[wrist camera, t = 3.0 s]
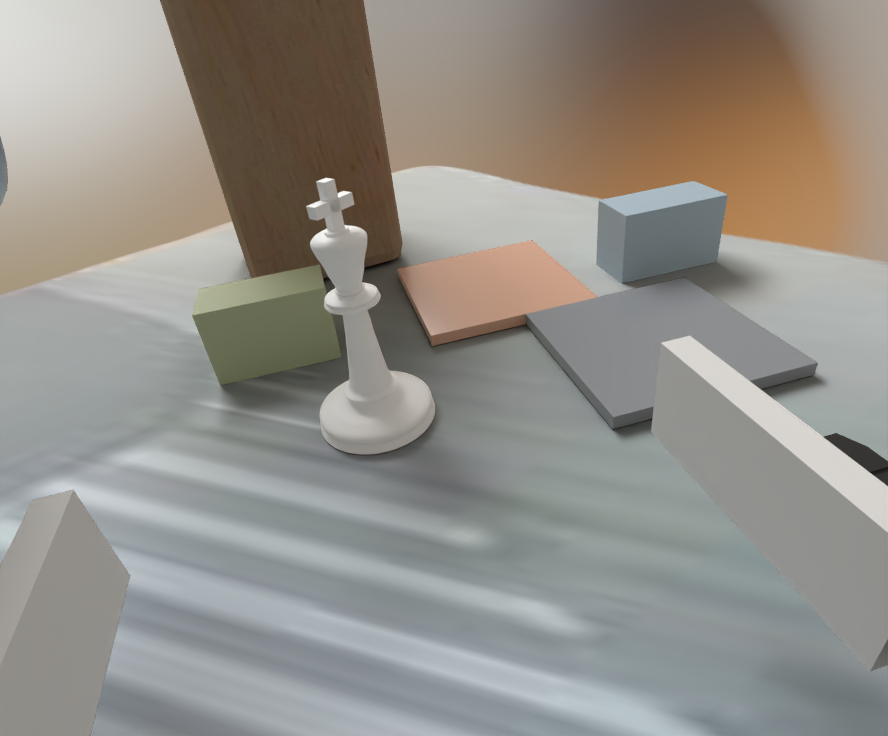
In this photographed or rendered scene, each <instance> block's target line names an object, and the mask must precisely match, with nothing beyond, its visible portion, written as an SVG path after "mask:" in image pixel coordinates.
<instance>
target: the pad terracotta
mask: <svg viewBox="0 0 888 736" xmlns="http://www.w3.org/2000/svg"><path fill="white" fill-rule="evenodd" d="M397 270H398V275H399V279H400V281H401V283H402V285H403V287H404V289H405V291H406V293H407V295H408V297H409V299H410V301H411V303H412V305H413V307H414V309H415V312H416V314H417V316H418V318H419V320H420V322H421V324H422V326H423V328H424V330H425V332H426V334H427V336H428V338H429V340H430V342H431V344H432V346H435V345H439V344H443V343H448V342H452V341H456V340H460V339H465V338H469V337H473V336H478V335H482V334H486V333H490V332H495V331H499V330H503V329H507V328H512V327H516V326H520V325H525V324H526V314H527V313H532V312H536V311H540V310H545V309H549V308H553V307H558V306H562V305H566V304H571V303H575V302H579V301H584V300H588V299H592V298H597V296H596V295H595V294H594V293H593V292H591V291H590V290H589V289H588V288H587V287H586V286H584V285H583V284H582V283H581V282H580V281H579V280H578V279H576V278H575V277H574V276H573V275H572V274H571V273H569V272H568V271H567V270H566V269H565V268H564V267H563V266H561V265H560V264H559V263H558V262H557V261H556V260H554V259H553V258H552V257H551V256H550V255H549V254H548V253H546V252H545V251H544V250H543V249H542V248H541V247H539V246H538V245H537V244H536V243H535V242H534V241H533V240H531V241H526V242H522V243H517V244H512V245H507V246H503V247H498V248H493V249H488V250H484V251H479V252H474V253H469V254H465V255H460V256H455V257H450V258H446V259H441V260H436V261H431V262H427V263H422V264H417V265H412V266H408V267H403V268H398V269H397Z"/></svg>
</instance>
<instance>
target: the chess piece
mask: <svg viewBox="0 0 888 736" xmlns="http://www.w3.org/2000/svg"><path fill="white" fill-rule="evenodd" d="M316 184H317V188H318V192H319V196H320V201H318V202H315V203H313V204H310V205H308V206H306V208H307V212H308V216H309V219H312V220H317V221H318V220H320V219H323V218H325V222H326V226H327V228H326V229H325V230H323V231H321V232H319V233H318V234H316V235H315V236H314V237H313V238H312V240H311V242H310V247H311V249H312V251H313V253H314V255H315V256H316V258H317V259H318V260H319V262H320V263H321V265H322V266H323V268H324V269H325V271H326V273H327V275H328V277H329V278H330V280H331V281H332V283H333V284H334V285H335V289H333V290H331V291H330V292H329V293H328V294H327V295H326V296H325V298H324V301H325V302H324V308H325V309H326V310H327V311H328V312H330V313H332V314H337V315H343V321H344V329H345V336H346V346H347V356H348V366H349V380H347V381H345V382H344V383H342V384H340V385H339V386H338V387H336V388H335V389H334V390H333V391H332V392H330V393H329V395H328V396H327V397H326V398H325V400H324V401H323V403H322V405H321V408H320V413H319V417H320V422H321V432H322V435H323V437H324V438H325V440H326V441H327V442H328V443H329V444H330V445H331V446H333V447H335V448H336V449H338V450H341V451H344V452H347V453H352V454H362V455H367V454H378V453H384V452H388V451H392V450H395V449H398V448H400V447H402V446H405V445H407V444H409V443H410V442H412V441H414V440H415V439H417V438H418V437H419V436H420V435H422V434H423V433H424V432H425V431H426V430H427V428H428V427H429V426H430V424H431V423H432V421H433V419H434V416H435V403H434V400H433V398H432V394H431V391H430V389H429V387H428V386H427V385H426V384H425V383H424V382H423V381H422V380H421V379H419V378H418V377H416V376H414V375H411V374H408V373H405V372H399V371H390V370H388V367H387V365H386V362H385V360H384V357H383V354H382V352H381V349H380V346H379V343H378V340H377V338H376V335H375V332H374V329H373V326H372V322H371V319H370V316H369V313H368V309H370V308H372V307H373V306H375V305H376V304H377V303H378V302H379V300H380V298H381V295H380V293H379V291H378V289H377V287H376V286H374V285H372V284H369V283H363V282H362V278H363V273H364V260H365V253H366V249H367V233H366V232H365V231H364V230H363V229H361V228H359V227H356V226H347V225H344V221H343V216H342V212H341V210H343V209H345V208H348V207H350V206H352V205H354V200H353V195H352V192H348V191H342V192H339V193H337V188H336V184H335V179H331V178H324V179H322V180H319V181H316Z"/></svg>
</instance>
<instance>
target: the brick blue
mask: <svg viewBox="0 0 888 736" xmlns="http://www.w3.org/2000/svg"><path fill="white" fill-rule="evenodd" d="M726 201H727V194H725V193H722V192H720V191H717V190H715V189H712V188H710V187H707V186H705V185H702V184H700V183H697V182H695V181H692V182H687V183H682V184H677V185H672V186H668V187H662V188H657V189H652V190H648V191H643V192H638V193H633V194H629V195H623V196H618V197H613V198H608V199H603V200H599V210H598V236H597V263H596V264H597V265H598V266H600V267H601V268H602V269H604V270H605V271H606V272H607V273H609V274H610V275H611V276H613V277H614V278H615V279H617V280H618V281H619V282H620V283H626V282H630V281H635V280H639V279H643V278H648V277H652V276H656V275H661V274H665V273H670V272H674V271H678V270H683V269H687V268H691V267H696V266H700V265H704V264H709V263H713V262H717V256H718V250H719V244H720V238H721V232H722V226H723V220H724V214H725V208H726Z"/></svg>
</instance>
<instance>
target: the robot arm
mask: <svg viewBox="0 0 888 736" xmlns="http://www.w3.org/2000/svg"><path fill="white" fill-rule="evenodd" d="M7 175H8V174H7V162H6V158H5V152H4V148H3V145H2V142H1V138H0V205H1V204H2V202H3V199H4V196H5V193H6V191H7V184H8V176H7ZM651 433H652V434H653V435H654V436H655V437H656V438H657V439H658V440H659V441H660V443H661V444H662V445H663V446H664V447H665V448H666V449H667V450H668V451H669V452H670V453H671V455H672V456H673V457H674V458H675V459H676V460H677V461H678V462H679V463H680V464H681V465H682V467H683V468H684V469H685V470H686V471H687V472H688V473H689V474H690V475H691V476H692V477H693V479H694V480H695V481H696V482H697V483H698V484H699V485H700V486H701V487H702V488H703V490H704V491H705V492H706V493H707V494H708V495H709V496H710V497H711V498H712V499H713V500H714V502H715V503H716V504H717V505H718V506H719V507H720V508H721V509H722V510H723V511H724V512H725V514H726V515H727V516H728V517H729V518H730V519H731V520H732V521H733V522H734V523H735V525H736V526H737V527H738V528H739V529H740V530H741V531H742V532H743V533H744V534H745V535H746V537H747V538H748V539H749V540H750V541H751V542H752V543H753V544H754V545H755V546H756V547H757V549H758V550H759V551H760V552H761V553H762V554H763V555H764V556H765V557H766V558H767V559H768V561H769V562H770V563H771V564H772V565H773V566H774V567H775V568H776V569H777V570H778V572H779V573H780V574H781V575H782V576H783V577H784V578H785V579H786V580H787V581H788V582H789V584H790V585H791V586H792V587H793V588H794V589H795V590H796V591H797V592H798V593H799V594H800V596H801V597H802V598H803V599H804V600H805V601H806V602H807V603H808V604H809V605H810V606H811V608H812V609H813V610H814V611H815V612H816V613H817V614H818V615H819V616H820V617H821V619H822V620H823V621H824V622H825V623H826V624H827V625H828V626H829V627H830V628H831V629H832V631H833V632H834V633H835V634H836V635H837V636H838V637H839V638H840V639H841V640H842V641H843V643H844V644H845V645H846V646H847V647H848V648H849V649H850V650H851V651H852V652H853V653H854V655H855V656H856V657H857V658H858V659H859V660H860V661H861V662H862V663H863V664H864V666H865V667H866V668H867V669H868V670H869V671H873V670H875V669H878V668H881V667H883V666H886V665H888V461H887V460H885V459H884V458H882V457H881V456H880V455H878V454H877V453H875V452H874V451H873V450H871V449H870V448H869V447H867V446H865V445H862V444H860V443H858V442H855V441H853V440H851V439H849V438H846V437H844V436H842V435H839V434H837V433H835V434H832V435H828V436H825V437H822V436H821V435H820V434H818V433H817V432H816V431H815V430H813V429H812V428H811V427H809V426H808V425H807V424H805V423H804V422H803V421H801V420H800V419H799V418H797V417H796V416H795V415H794V414H792V413H791V412H790V411H788V410H787V409H786V408H784V407H783V406H782V405H780V404H779V403H778V402H776V401H775V400H774V399H773V398H771V397H770V396H769V395H767V394H766V393H765V392H763V391H762V390H761V389H759V388H758V387H757V386H755V385H754V384H753V383H752V382H750V381H749V380H748V379H746V378H745V377H744V376H742V375H741V374H740V373H738V372H737V371H736V370H734V369H733V368H732V367H731V366H729V365H728V364H727V363H725V362H724V361H723V360H721V359H720V358H719V357H717V356H716V355H715V354H713V353H712V352H711V351H710V350H708V349H707V348H706V347H704V346H703V345H702V344H700V343H699V342H698V341H696V340H695V339H694V338H692V337H691V336H686V337H682V338H678V339H674V340H670V341H666V342H662V343H661V346H660V355H659V364H658V373H657V382H656V391H655V401H654V410H653V419H652V428H651ZM129 579H130V574H129V573H128V571H127V570H126V568H125V567H124V565H123V564H122V562H121V561H120V559H119V558H118V556H117V555H116V553H115V552H114V550H113V549H112V547H111V546H110V544H109V543H108V541H107V540H106V538H105V537H104V535H103V534H102V532H101V531H100V529H99V528H98V526H97V525H96V523H95V522H94V520H93V519H92V517H91V516H90V514H89V513H88V511H87V510H86V508H85V507H84V505H83V504H82V502H81V501H80V499H79V498H78V496H77V495H76V493H75V492H74V490H70V491H66V492H62V493H58V494H54V495H50V496H46V497H42V498H38V499H34V500H32V502H31V504H30V507H29V509H28V511H27V513H26V515H25V517H24V519H23V521H22V523H21V525H20V527H19V529H18V531H17V533H16V535H15V537H14V539H13V541H12V543H11V545H10V547H9V549H8V551H7V554H6V556H5V558H4V560H3V562H2V564H1V566H0V736H90V735H91V731H92V727H93V723H94V719H95V715H96V711H97V707H98V703H99V699H100V695H101V691H102V687H103V683H104V679H105V675H106V671H107V667H108V663H109V659H110V655H111V651H112V647H113V643H114V639H115V635H116V631H117V627H118V623H119V619H120V615H121V611H122V607H123V603H124V599H125V595H126V591H127V587H128V583H129Z"/></svg>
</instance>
